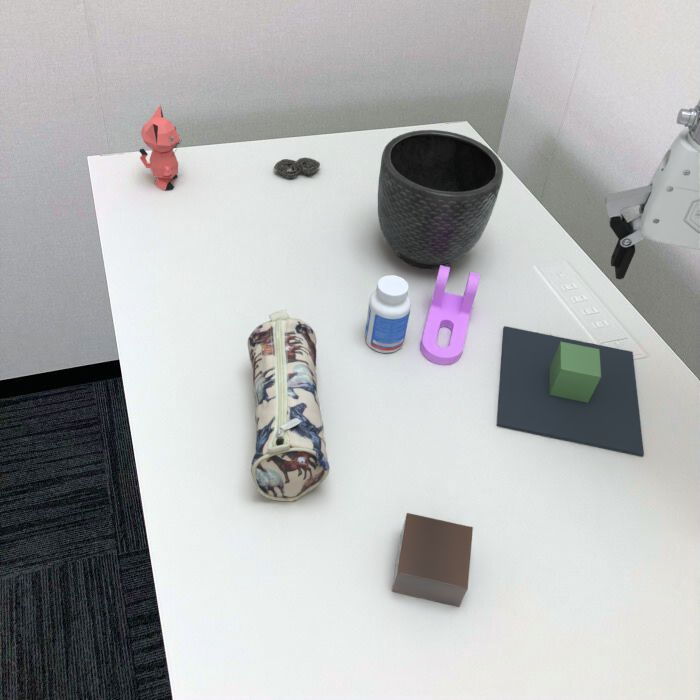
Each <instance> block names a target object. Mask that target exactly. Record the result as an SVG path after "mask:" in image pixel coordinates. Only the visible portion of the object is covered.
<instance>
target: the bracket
mask: <svg viewBox="0 0 700 700" xmlns="http://www.w3.org/2000/svg"><path fill="white" fill-rule="evenodd" d="M450 270H451V267H450V266H447V265H444V266H442V265H440V267H439V268H438V273H437V277H436V281H435V286H434V289H433V294H432V299H431V303H430V307H429V310H428V314H427V319H426V322H425V326H424V330H423V334H422V338H421V342H420V352H421V354H422V355H423V357H424V358H425V359H426V360H428V361H429V362H430V363H433V364H436V365H441V366H448V365H453V364H455V363H457V362H458V361H459V360H460V359H461V357H462V354H463V350H464V346H465V345H464V344H465V341H466V336H467V332H468V331H467V330H468V325H469V320H470V316H471V313H472V308H473V305H474V302H475V298H476V295H477V291H478V286H479V283H480V279H481V274H480V273H477V272H473V271H470V272H469V273H468V278H467V282H466V285H465V289H464V292H463V296H462V295H458V294H454V293H450V292H445V291H446V287H447V283H448V278H449V274H450ZM441 328H448V329H449V330H450V331H451V335H450V339H449V344H448V346H445V347H442V346H440V345H439V344H438V343H437V339H438V334H439V331H440V330H439V329H441Z"/></svg>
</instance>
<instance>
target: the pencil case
mask: <svg viewBox="0 0 700 700" xmlns="http://www.w3.org/2000/svg"><path fill="white" fill-rule="evenodd" d="M268 317H269V319H270V320H268V321H265V322H263V323H260V324H259V325H257V326H256V327H255V328H254V329H253V330H252V332H251V333H250V334H249V336H248V338H247V350H248V356H249V361H250V365H251V368H252V380H253V391H254V392H253V393H254V400H255V408H256V410H255V419H254V420H255V426H256V439H255V453H254V455H253V457H252V461H251V465H250V474H251V478H252V481H253V483H254V486H255V489H256V490H257V491H258V492H259V494H261V495H262V496H263V497H265V498H268V499H270V500H273V501H278V502H279V501H280V502H287V501H288V502H295V501H296V500H299V499H300V498H302V497H303V496H304V495H306V494H307V493H309V492H310V491H312V490H313V489H315V488H316V487H318V486H319V485H320V484H322V483H323V482H324V481H325V480H326V478H327V477H328V476H329V474H330V470H331V469H330V468H331V467H330V463H329V460H328V453H327V449H326V448H327V447H326V446H327V444H326V440H325V432H324V431H325V430H324V422H323V419H322V412H321V407H320V400H319V395H318V379H317V335H316V332H315V330H314V329H313V327H311V325H309V324H308V323H307V322H306V321H304V320H302V319H300V318H297V317H290V316H289V313H288V311H287V309H282V310H279V311H275V312H272V313H270V314H268Z"/></svg>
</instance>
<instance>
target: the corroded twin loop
mask: <svg viewBox="0 0 700 700" xmlns="http://www.w3.org/2000/svg"><path fill="white" fill-rule="evenodd" d="M305 166H307V167H305ZM320 166H321V163H320V162H319V161H318V160H316V159H314V158H311V157H300V158H298V159H297V160H294V159H288V158H284V159H281V160H279V161H277V162H275V164H274V166H273V169H274V170H275V172H276V173H277V174H278V175H280V176H283V177H285V178H288V179H292V178H296V177H297V176H298V175H299V174H301V175H305V176H312V175H314V174H316V172H317V171H318V170H319V169H320ZM290 167H291V168H293V169H294V170H290Z"/></svg>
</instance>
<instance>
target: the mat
mask: <svg viewBox="0 0 700 700" xmlns="http://www.w3.org/2000/svg"><path fill="white" fill-rule="evenodd" d="M560 342H565V343H570V344H575V345H580V346H585V347H590V348H595V349H599V353H600V368H601V378H600V380H599V382H598V384H597V386H596V388H595V390H594V392H593V394H592V396H591V398H590V400H589V402H588V403H586V402H582V401H577V400H572V399H567V398H562V397H557V396H552V395H550V365H551V363H552V361H553V358H554V356H555V354H556V351H557V349H558V347H559V344H560ZM500 356H501V358H500V370H499V373H500V374H499V386H498V387H499V388H498V403H497V417H496V427H499V428H504V429H509V430H514V431H518V432H523V433H527V434H532V435H537V436H542V437H547V438H551V439H556V440H562V441H564V442H565V441H567V442H571V443H575V444H579V445H583V446H584V445H585V446H590V447H594V448H599V449H604V450H609V451H612V452H613V451H614V452H618V453H622V454H623V453H624V454H628V455H633V456H638V457H642V458H643V457H644V455H645V450H644V442H643V441H644V440H643V434H642V424H641V415H640V406H639V396H638V388H637V380H636V378H637V377H636V369H635V361H634V352H633V351H632V350H626V349H622V348H615V347H612V346H606V345H602V344H596V343H592V342H586V341H581V340H578V339H577V340H576V339H571V338H567V337H561V336H557V335H552V334H546V333H541V332H535V331H531V330H527V329H521V328H517V327H510V326H506V325H504V326H503V329H502V343H501V355H500Z"/></svg>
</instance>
